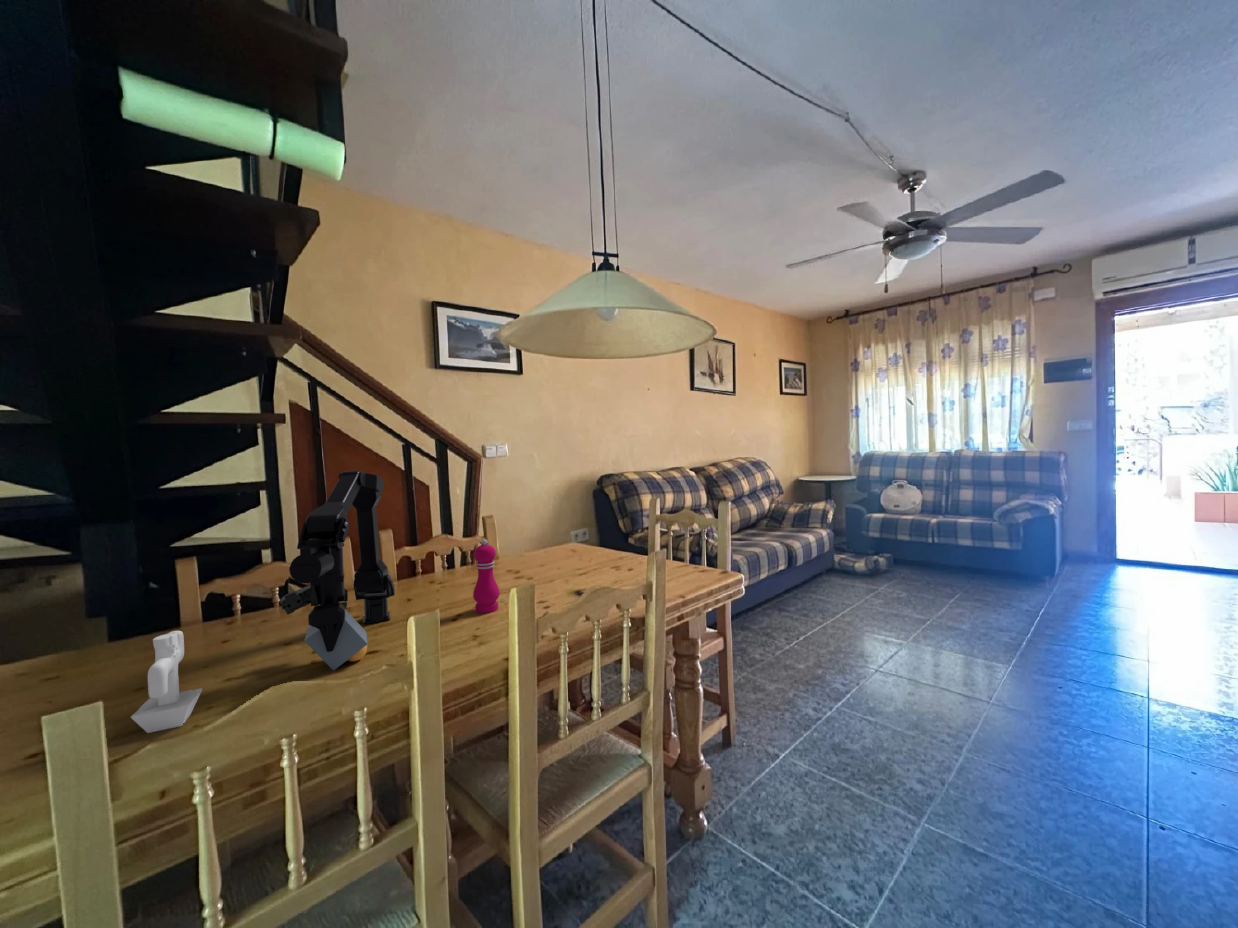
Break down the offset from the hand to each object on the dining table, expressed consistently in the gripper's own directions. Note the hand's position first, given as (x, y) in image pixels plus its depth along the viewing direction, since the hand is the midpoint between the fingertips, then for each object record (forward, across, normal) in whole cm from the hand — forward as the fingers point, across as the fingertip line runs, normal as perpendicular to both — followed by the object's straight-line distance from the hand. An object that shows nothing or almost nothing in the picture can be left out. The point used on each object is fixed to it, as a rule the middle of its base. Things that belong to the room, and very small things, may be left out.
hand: (331, 644), depth 105 cm
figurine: (+4, +13, -23) cm, 27 cm away
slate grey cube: (+2, 0, +4) cm, 4 cm away
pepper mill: (+4, -20, +37) cm, 42 cm away
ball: (+2, 0, +4) cm, 5 cm away
